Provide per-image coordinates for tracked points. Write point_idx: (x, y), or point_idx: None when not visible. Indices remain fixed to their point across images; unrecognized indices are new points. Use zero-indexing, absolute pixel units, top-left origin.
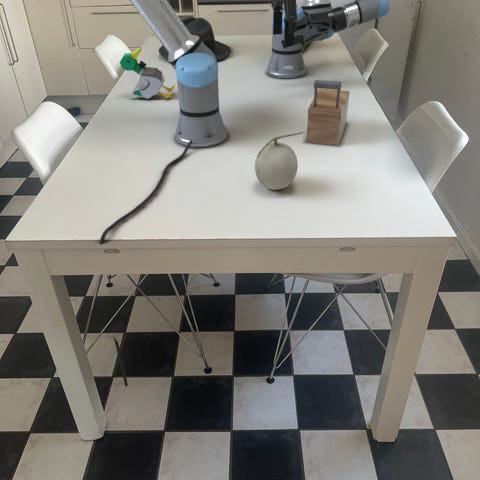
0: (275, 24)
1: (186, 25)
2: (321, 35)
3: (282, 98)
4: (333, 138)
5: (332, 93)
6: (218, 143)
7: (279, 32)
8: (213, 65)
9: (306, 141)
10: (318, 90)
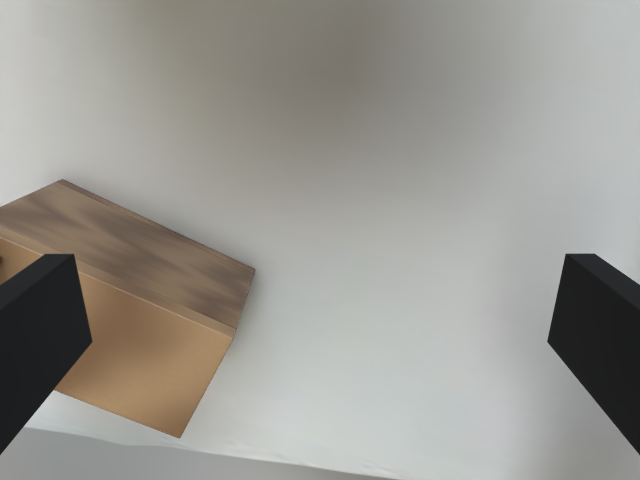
0: (631, 334)
1: None
2: None
3: (530, 207)
4: None
5: (157, 372)
6: None
7: (562, 327)
8: None
9: (59, 180)
10: (208, 330)
